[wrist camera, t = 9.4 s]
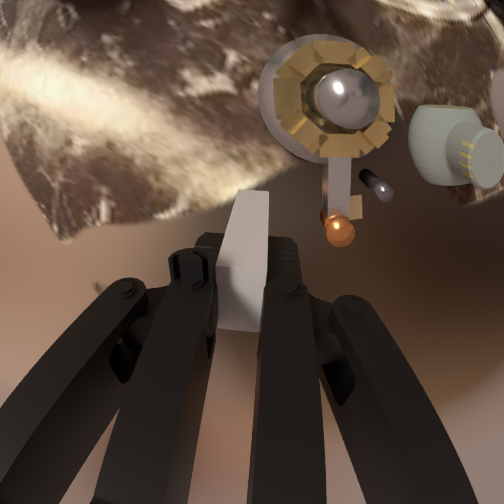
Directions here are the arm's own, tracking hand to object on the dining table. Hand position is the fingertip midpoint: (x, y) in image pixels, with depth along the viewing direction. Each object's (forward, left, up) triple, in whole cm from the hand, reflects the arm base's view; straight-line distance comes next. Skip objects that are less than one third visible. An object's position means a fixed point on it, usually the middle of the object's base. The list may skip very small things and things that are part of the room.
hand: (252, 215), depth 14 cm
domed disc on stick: (-8, -1, -14) cm, 16 cm away
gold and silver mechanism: (-8, -1, -16) cm, 18 cm away
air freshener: (-21, 0, -16) cm, 27 cm away
